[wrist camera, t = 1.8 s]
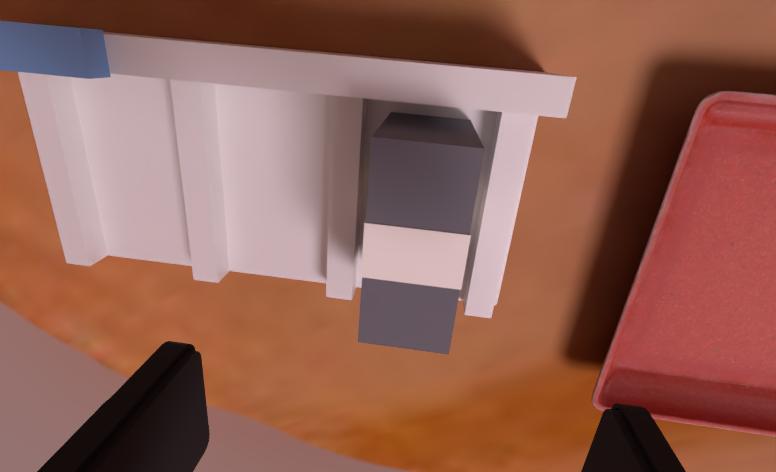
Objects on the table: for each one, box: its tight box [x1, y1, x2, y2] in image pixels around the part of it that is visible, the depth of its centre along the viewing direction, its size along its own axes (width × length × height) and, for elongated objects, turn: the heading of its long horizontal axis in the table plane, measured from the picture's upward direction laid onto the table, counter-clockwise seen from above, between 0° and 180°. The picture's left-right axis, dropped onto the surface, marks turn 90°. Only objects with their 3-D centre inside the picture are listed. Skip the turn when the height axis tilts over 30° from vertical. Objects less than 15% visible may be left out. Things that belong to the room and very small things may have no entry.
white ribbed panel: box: [0, 20, 576, 318], centre depth 21 cm, size 13×26×6 cm, turn 85°
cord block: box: [358, 112, 485, 354], centre depth 20 cm, size 9×4×7 cm, turn 175°
